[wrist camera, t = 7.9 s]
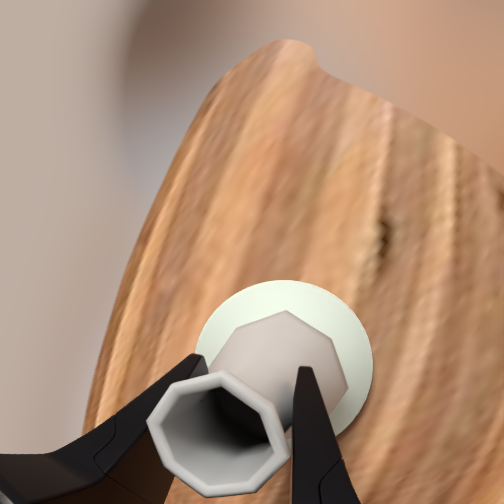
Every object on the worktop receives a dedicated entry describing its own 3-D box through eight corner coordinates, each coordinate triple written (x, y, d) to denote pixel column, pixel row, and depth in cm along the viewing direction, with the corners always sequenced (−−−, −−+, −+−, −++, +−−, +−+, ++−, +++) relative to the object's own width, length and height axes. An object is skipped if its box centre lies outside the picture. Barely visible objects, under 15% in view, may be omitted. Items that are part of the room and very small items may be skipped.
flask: (371, 388, 13) (441, 459, 4) (263, 461, 13) (196, 572, 4) (289, 286, 16) (244, 214, 7) (189, 363, 16) (54, 378, 7)
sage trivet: (377, 432, 15) (380, 437, 14) (212, 450, 17) (207, 455, 16) (354, 268, 18) (355, 264, 17) (191, 297, 20) (184, 295, 19)
